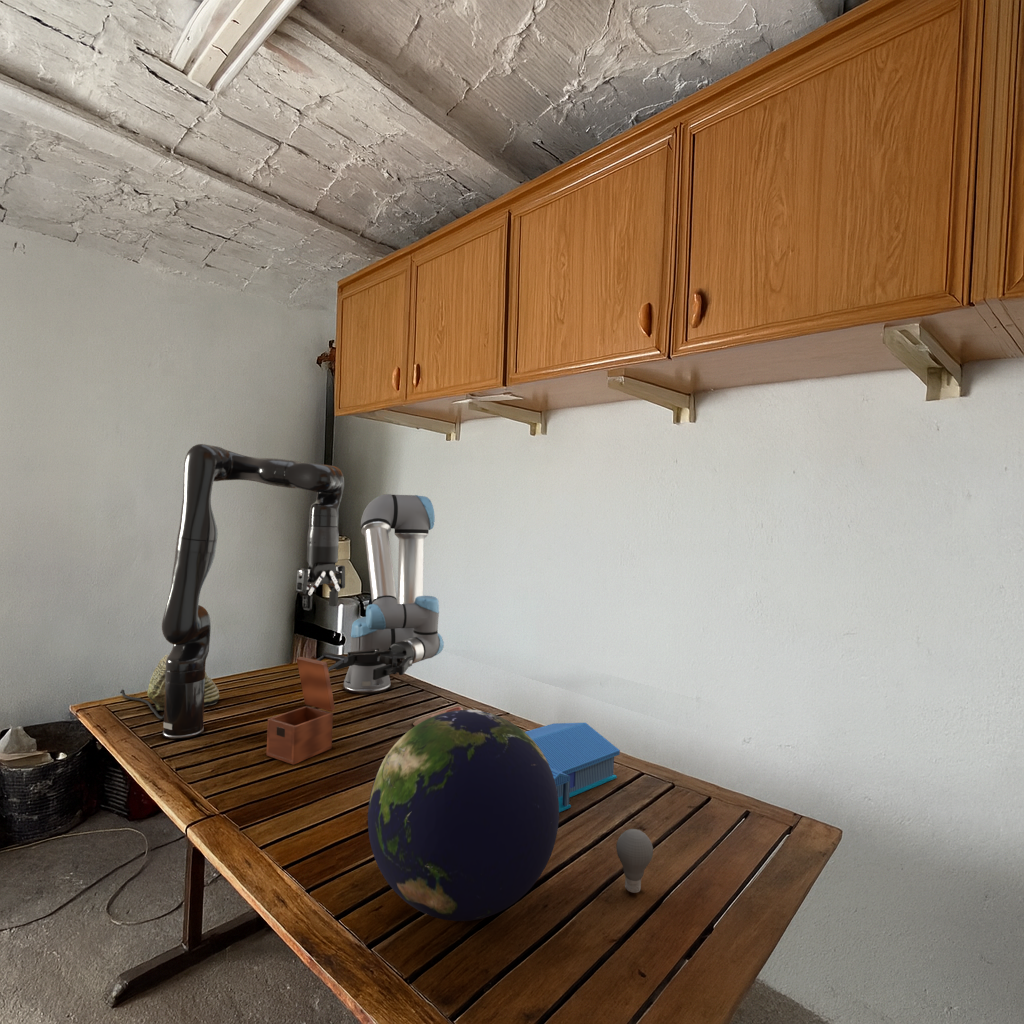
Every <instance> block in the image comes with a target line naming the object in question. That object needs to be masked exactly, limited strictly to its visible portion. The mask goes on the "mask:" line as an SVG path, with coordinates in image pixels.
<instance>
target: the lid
mask: <svg viewBox="0 0 1024 1024" xmlns="http://www.w3.org/2000/svg"><path fill="white" fill-rule="evenodd" d="M324 660H330V661H334V662H335V663H333V664H332V665H328V662H326V661H324ZM336 661H338V662H337V663H336ZM347 661H348V657H347V656H346V655H342V654H337V653H332V652H327V651H324V652H323V653H322V656H320V657H318V658H316V659H314V658H310V657H304V656H299V657H296V663H297V669H298V674H299V680H300V684H301V690H302V696H303V700H304V705H305V706H309V707H313V708H316V709H320V710H323V711H327V712H331V713H333V711H334V710H335V709H336V707H335V701H334V695H333V690H332V684H331V678H330V677H331V676H330V672H331V671H332V670H333V669H335V667H337V666H338V665H340V664H341V663H347ZM328 666H329V667H328Z"/></svg>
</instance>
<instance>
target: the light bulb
mask: <svg viewBox="0 0 1024 1024" xmlns="http://www.w3.org/2000/svg"><path fill="white" fill-rule="evenodd" d="M615 849H616V854H617V857H618V859H619V861H620V863H621V865H622V867H623V873H624V874H623V875H624V876H625V878H624V888H625V890H627V891H628V892H630V893H634V894H635V893H639V892H640V891H641V889H642V887H641V886H642V879H643V877H644V875H645V871H646V868H647V867H648V866H649V864H650V863H651V861H652V859H653V855H654V847H653V843H652V841H651V838H649V836H648V835H647V834H646V833H645V832H643V831H642V830H641V829H636V828H629V829H627V830H625V831H623V832H622V833H621V834H620V835H619V837H618V839H617V841H616V847H615Z"/></svg>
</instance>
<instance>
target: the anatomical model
mask: <svg viewBox="0 0 1024 1024" xmlns="http://www.w3.org/2000/svg"><path fill="white" fill-rule="evenodd" d="M457 710H464V708H463V707H462V706H455V707H451V708H447V709H444V710H441V711H439V712H435V713H433V714H429V715H426V716H422V717H420V718H418V719H416V720H415V721H414V722H413V723H412V725H413V726H414V727H415V726H416V725H418V724H419V723H421V722H423V721H425V720H427V719H429V718H431V717H433V716H436V715H439V714H442V713H445V712H450V711H457Z"/></svg>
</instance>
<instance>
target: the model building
mask: <svg viewBox="0 0 1024 1024" xmlns="http://www.w3.org/2000/svg"><path fill="white" fill-rule="evenodd" d="M524 732H525V733H526V734H527V735H528V736H529V737H530V738H531V739H532V740H533V741H534V742H535V743H536V744H537V746H538V747H539V748H540V750H541V751H542V753H543V754H544V756H545V758H546V760H547V761H548V764H549V766H550V769H551V771H552V774H553V777H554V780H555V784H556V788H557V793H558V801H559V813H562V812H563V811H566V810H569V809H571V808H572V805H571V804H570V798H572V797H575V796H577V795H580V794H582V793H585V792H587V791H589V790H591V789H594V788H597V787H599V786H601V785H603V784H605V783H609V782H610V781H613V780H615V779H617V778H618V776H617V775H616V774H614V771H615V770H614V768H615V767H614V765H615V757H617V756H620V754H621V750H620V749H619V748H618V747H617V746H616V745H614V744H613V743H612V742H611V741H610V740H607V738H605V737H604V736H603V735H601V734H600V733H599V732H598V731H597V730H596V729H594V728H593V727H592V726H591V725H589V724H588V723H587V722H560V723H559V722H558V723H555V722H554V723H550V724H546V725H544V726H543V725H542V726H540V727H537V728H533V729H530V730H526V731H524Z"/></svg>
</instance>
